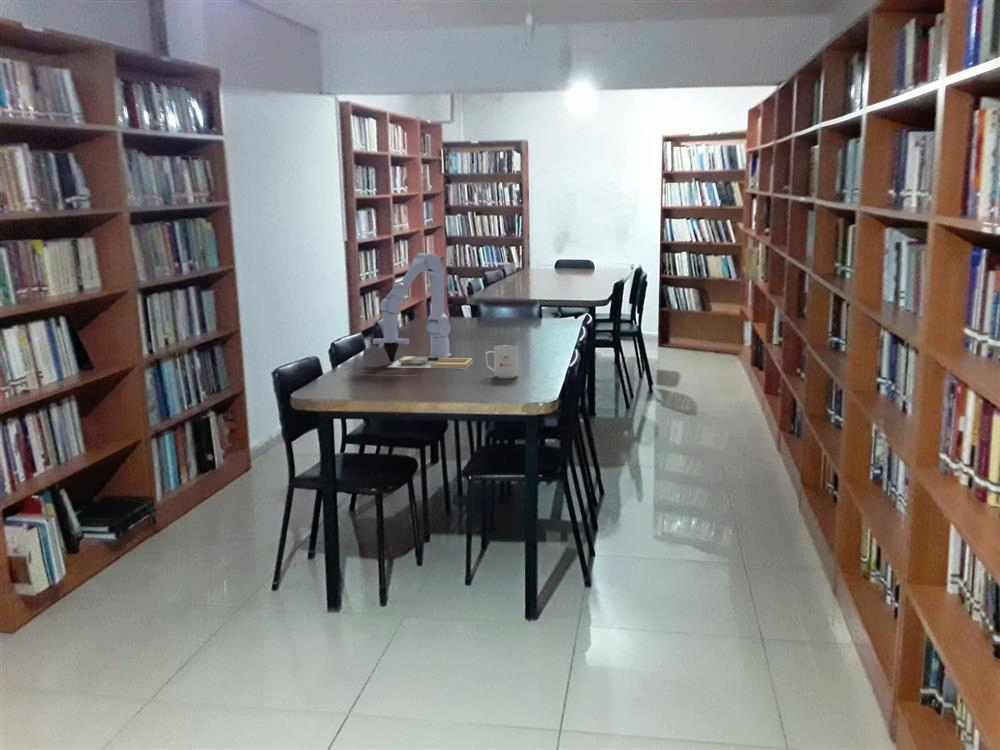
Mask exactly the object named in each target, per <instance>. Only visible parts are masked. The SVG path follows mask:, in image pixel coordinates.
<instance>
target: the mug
mask: <svg viewBox="0 0 1000 750" xmlns="http://www.w3.org/2000/svg"><path fill="white" fill-rule="evenodd" d="M518 350H519V347H518V346H517V345H511V344H502V345H496V346H494V347H493V351H492V350H489V351H485V362H486V364H485V365H486V367H487V368H488V369H489V370H491V371H492V372H493V373H494V375H495V377H496V378H498V379H512V378H513V379H514V378H516V377H517V376H518V375H519V351H518ZM491 353H492V354H493V361H494V363H493V367H494V368H492V367H491V366H489V362H488V354H491Z"/></svg>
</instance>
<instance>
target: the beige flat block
mask: <svg viewBox="0 0 1000 750" xmlns="http://www.w3.org/2000/svg"><path fill="white" fill-rule="evenodd" d="M428 357H429V356H408V355H407V356H405V355H403V356H402V357H401V358H399V359H398V360H399V363H401V365H404V363H419V365H422V363H425V362H426V361H429V358H428Z"/></svg>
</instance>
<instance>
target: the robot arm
mask: <svg viewBox="0 0 1000 750" xmlns="http://www.w3.org/2000/svg"><path fill="white" fill-rule="evenodd" d="M424 272H426V273H427V274H428V275H430V300H431V301H430V305H431V308H430V309H431V310H430V311H431V313H430V314H429V316H428V318H427V319H428V320H427V324H426V330H427V332H428V333H429V336H430V337H429V338H430V339H429V340H430V355H429V356H427V357H428V359H429V358H431V359H438V358H449V357H450V356H451V355H453V353H451V352H450V339H449V334H450V333H451V329H452V327H451V324H450V322H449V321H450V319H449V317H448V315H447V314H446V313H445V309H446V308H445V269H444V266H443V265H442V259H441V257H440V256H439V255H438V254H436V253H426V252H418V253H417V254H416V255H415V256H414V258H413V259H412V262H411V265H410V267H409V268H408V270H407V271H406V273H404V276H403V278H402V280H401V281H400V282H396V283H395V284H393V285H392V289H391V290H390V292H389V293H388V294H387V295H386V296H385V298H383V299H382V300H381V301H380V304H379V305H378V308H379V310H380V311H381V315H382V329H383V331H382V332H383V338H380V337H379V338H374V339H372V343H373V345H381V344H383V349H384V350H385V352H386V354H387V357H388V360H389V361H388V362H389V363H394V362H395V361H396V360H395V358H396V354H397V351H398V348H399V346H400V345H409V344H410V339H409V338H402V337H401V338H399V330H398V329H399V328H398V311H399V310H400V304H401V303H402V301H403V300H404V298H405V297H406V295H407V294H408V292H409V289H408V288H409V286H410V285H411V284H412V282H413V281H414V280H415V279H416V278H417V276H418V275H419V273H424Z"/></svg>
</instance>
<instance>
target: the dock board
mask: <svg viewBox="0 0 1000 750" xmlns="http://www.w3.org/2000/svg"><path fill="white" fill-rule="evenodd" d="M437 359H438V360H427V361H426V362H425V363H422V365H419V363H404V365H401V363H399V359H398V360H395V361H394V362H391V364H389V365H387V368H408V369H409V368H411V369H412V368H413V369H414V368H415V369H417V368H418V369H456V371H457V370H458V371H459V370H461V371H462V370H463V371H465V370H467V369H468V368H469V367H470V366H471V365H473V363H474V361H473V357H472V358H471V357H470V358H469V357H468V358H467V357H466V358H465V357H447V358H437Z"/></svg>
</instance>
